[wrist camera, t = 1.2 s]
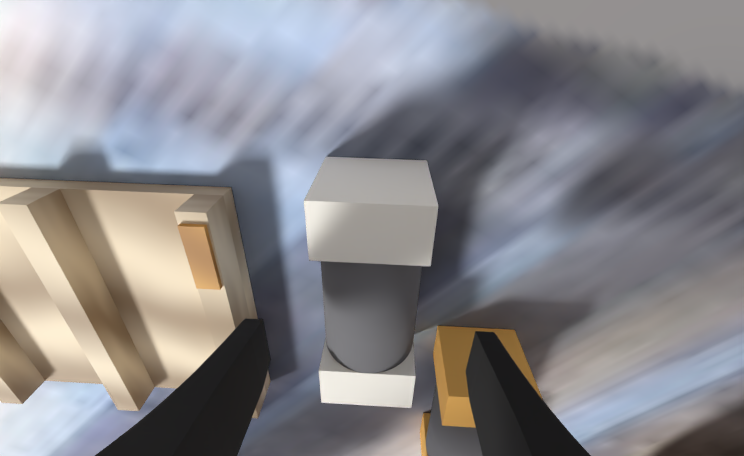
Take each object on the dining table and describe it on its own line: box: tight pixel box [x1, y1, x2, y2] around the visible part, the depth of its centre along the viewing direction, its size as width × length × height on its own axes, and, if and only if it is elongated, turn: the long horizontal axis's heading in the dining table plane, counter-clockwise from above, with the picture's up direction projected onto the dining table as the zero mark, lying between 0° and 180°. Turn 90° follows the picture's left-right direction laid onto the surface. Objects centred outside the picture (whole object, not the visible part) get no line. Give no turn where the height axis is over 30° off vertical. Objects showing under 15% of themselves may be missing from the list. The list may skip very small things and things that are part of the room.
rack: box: [0, 178, 270, 418], centre depth 17 cm, size 13×15×2 cm
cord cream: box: [304, 157, 438, 408], centre depth 14 cm, size 10×4×4 cm, turn 179°
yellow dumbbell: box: [420, 326, 543, 456], centre depth 19 cm, size 10×4×4 cm, turn 179°
